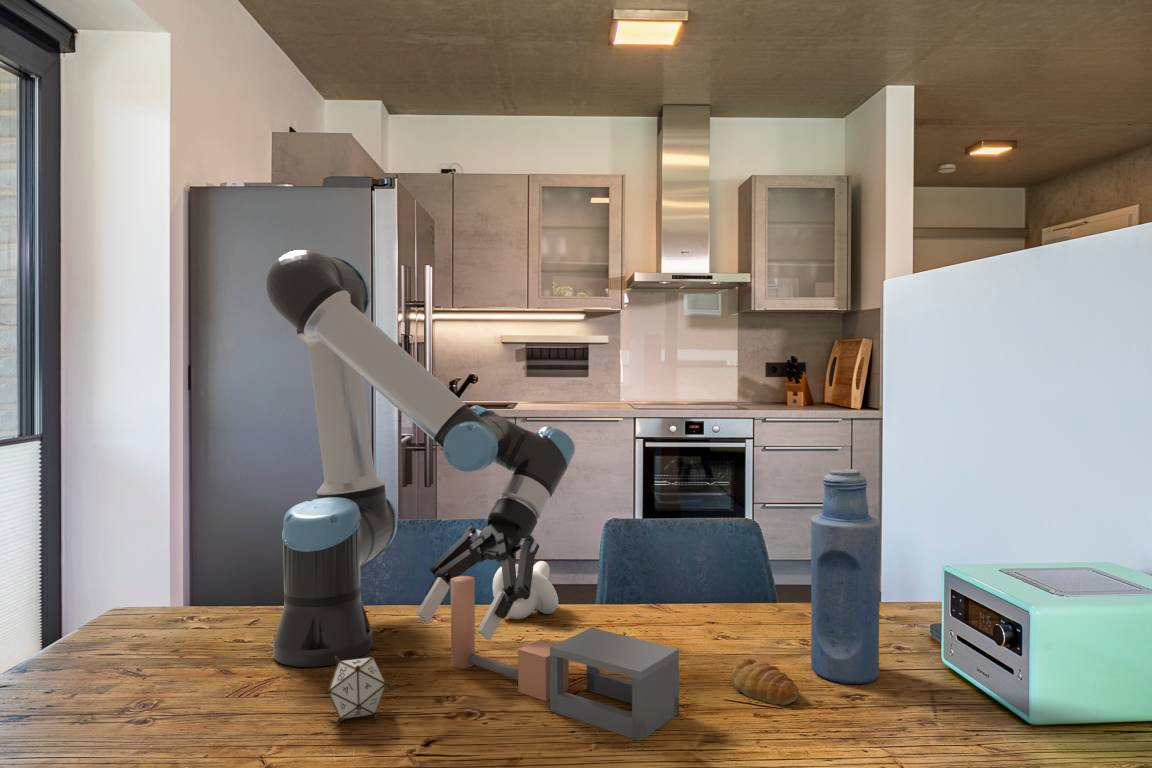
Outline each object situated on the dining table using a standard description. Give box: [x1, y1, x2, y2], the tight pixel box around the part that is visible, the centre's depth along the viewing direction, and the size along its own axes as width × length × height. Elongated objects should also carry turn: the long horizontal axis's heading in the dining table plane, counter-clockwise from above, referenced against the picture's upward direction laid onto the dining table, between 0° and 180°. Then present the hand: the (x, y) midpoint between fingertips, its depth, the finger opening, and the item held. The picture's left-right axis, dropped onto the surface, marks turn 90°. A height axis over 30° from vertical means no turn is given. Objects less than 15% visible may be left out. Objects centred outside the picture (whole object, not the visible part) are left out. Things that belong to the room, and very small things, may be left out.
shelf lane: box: [549, 627, 680, 742], centre depth 104 cm, size 14×9×8 cm
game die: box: [322, 650, 393, 727], centre depth 102 cm, size 9×8×10 cm
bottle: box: [810, 468, 881, 685], centre depth 116 cm, size 10×10×30 cm
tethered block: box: [450, 575, 570, 702], centre depth 115 cm, size 20×5×13 cm, turn 52°
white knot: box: [492, 560, 559, 620], centre depth 145 cm, size 11×12×9 cm
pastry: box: [730, 657, 800, 706], centre depth 109 cm, size 9×7×4 cm
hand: (451, 626), depth 118 cm, fingers open, 12 cm apart
